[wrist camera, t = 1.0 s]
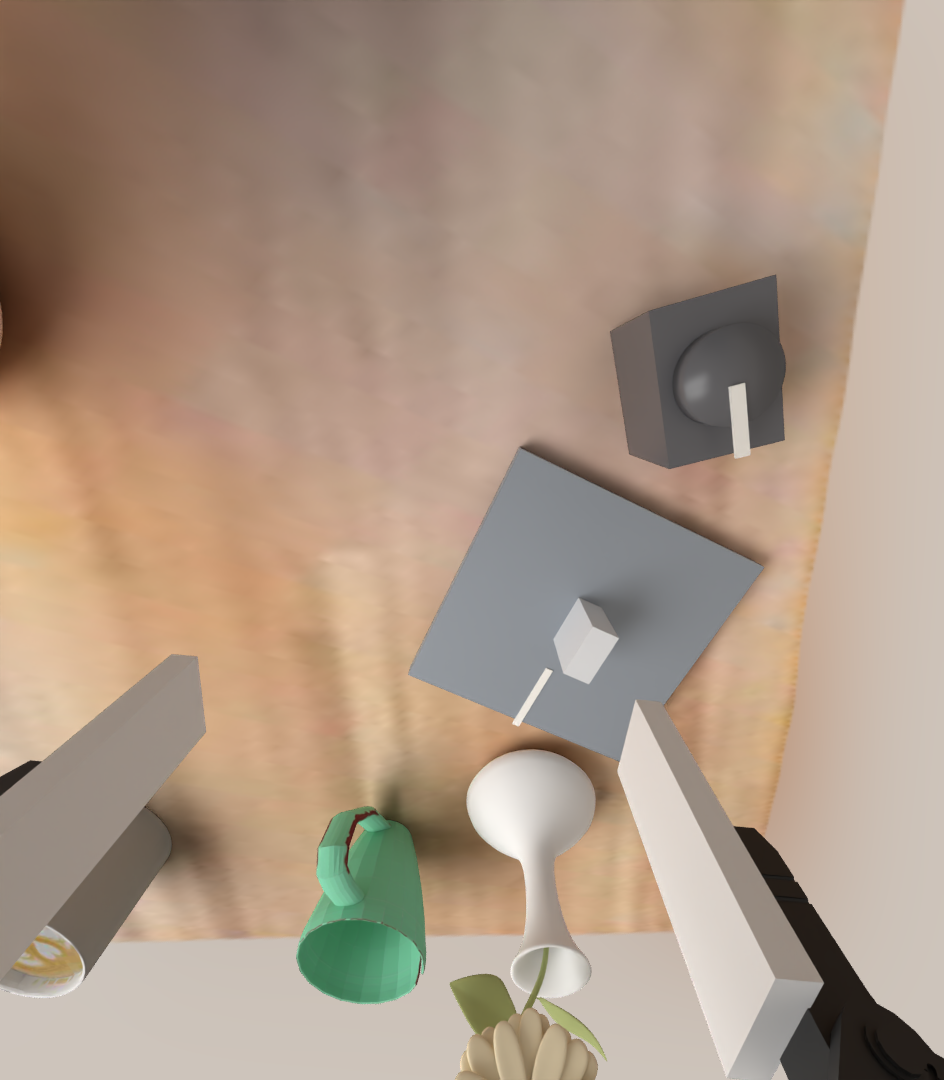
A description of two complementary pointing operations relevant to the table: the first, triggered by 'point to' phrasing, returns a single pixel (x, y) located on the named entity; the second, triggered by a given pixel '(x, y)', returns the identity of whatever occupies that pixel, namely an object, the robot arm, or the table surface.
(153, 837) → the coffee mug
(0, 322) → the lamp
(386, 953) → the mug
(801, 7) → the table surface
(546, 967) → the flower in vase
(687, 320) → the knob
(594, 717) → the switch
